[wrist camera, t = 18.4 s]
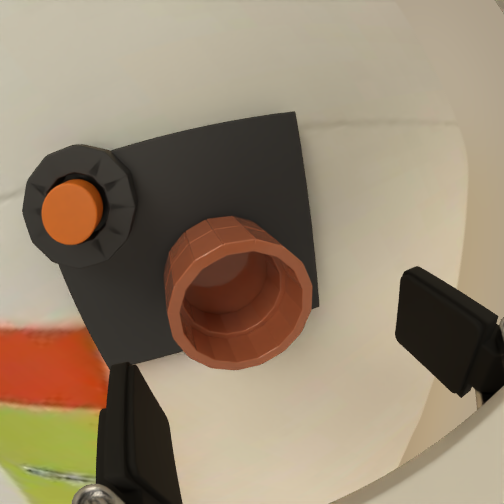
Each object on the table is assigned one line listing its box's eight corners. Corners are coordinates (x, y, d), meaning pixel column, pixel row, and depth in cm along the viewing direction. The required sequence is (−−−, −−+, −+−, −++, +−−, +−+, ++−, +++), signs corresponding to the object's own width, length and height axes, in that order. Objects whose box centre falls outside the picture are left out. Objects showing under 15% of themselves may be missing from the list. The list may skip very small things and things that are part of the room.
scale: (33, 165, 13) (10, 170, 10) (282, 100, 16) (307, 94, 13) (108, 357, 18) (104, 388, 15) (310, 296, 21) (331, 319, 18)
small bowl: (181, 200, 15) (191, 222, 11) (291, 230, 17) (333, 259, 13) (153, 310, 16) (156, 361, 12) (255, 326, 19) (282, 373, 14)
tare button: (45, 189, 11) (33, 195, 10) (95, 171, 12) (87, 174, 11) (62, 241, 12) (52, 252, 11) (110, 226, 13) (105, 235, 12)
